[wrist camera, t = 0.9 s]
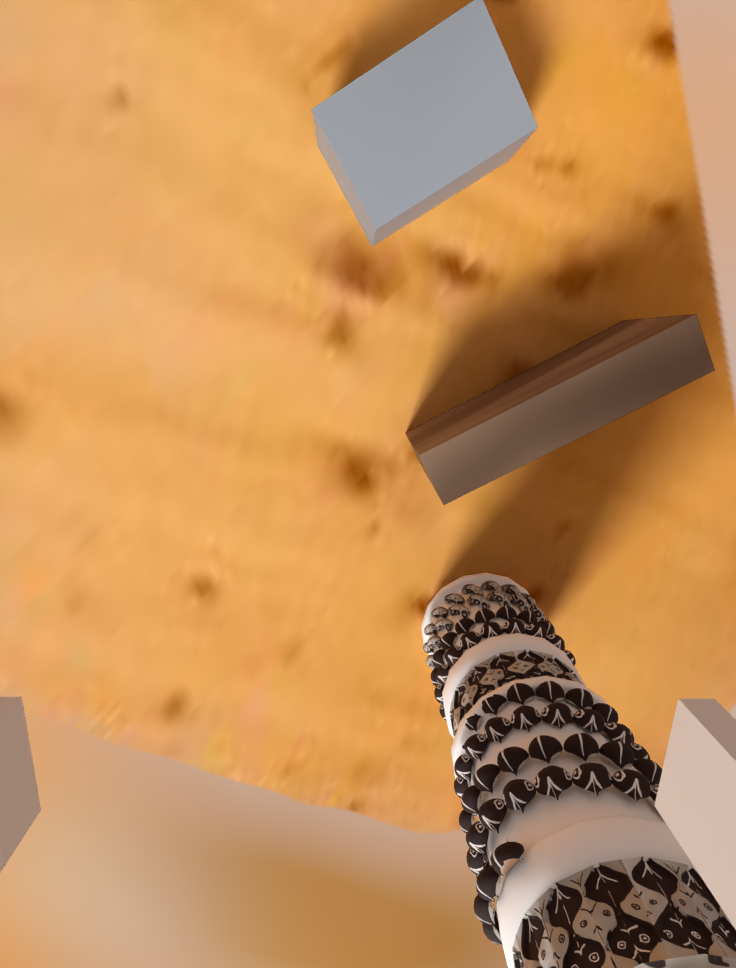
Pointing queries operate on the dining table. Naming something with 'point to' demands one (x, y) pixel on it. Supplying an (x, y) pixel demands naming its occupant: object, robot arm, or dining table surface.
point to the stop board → (559, 401)
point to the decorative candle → (558, 799)
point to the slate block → (424, 123)
